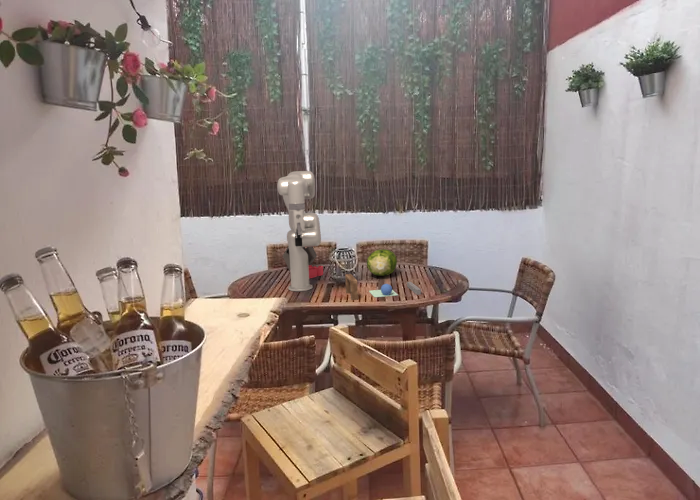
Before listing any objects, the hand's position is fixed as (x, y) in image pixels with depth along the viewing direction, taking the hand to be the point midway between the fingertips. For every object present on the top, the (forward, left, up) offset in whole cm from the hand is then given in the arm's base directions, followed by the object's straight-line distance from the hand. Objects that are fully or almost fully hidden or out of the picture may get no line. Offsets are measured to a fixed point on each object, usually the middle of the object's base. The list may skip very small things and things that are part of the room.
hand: (298, 245), depth 249 cm
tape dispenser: (-50, +11, -28) cm, 58 cm away
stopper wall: (-2, +57, -27) cm, 63 cm away
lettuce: (-35, +49, -27) cm, 66 cm away
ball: (+2, +42, -24) cm, 48 cm away
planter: (-69, +7, -27) cm, 74 cm away
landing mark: (-2, +41, -27) cm, 49 cm away
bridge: (-2, +25, -27) cm, 37 cm away
